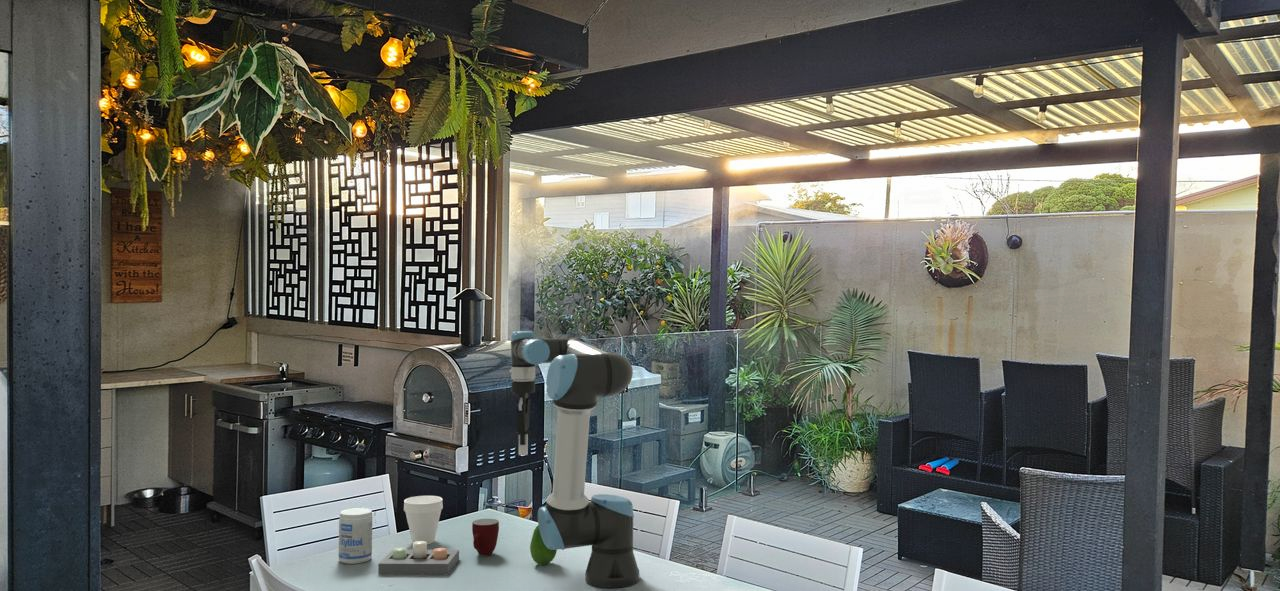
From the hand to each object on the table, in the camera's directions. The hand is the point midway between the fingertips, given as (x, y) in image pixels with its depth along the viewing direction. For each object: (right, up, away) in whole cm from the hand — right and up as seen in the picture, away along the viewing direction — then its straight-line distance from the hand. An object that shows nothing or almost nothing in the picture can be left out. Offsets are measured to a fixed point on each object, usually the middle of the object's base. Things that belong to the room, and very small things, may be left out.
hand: (523, 454), depth 275 cm
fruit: (+8, -30, -17) cm, 35 cm away
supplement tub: (-49, -30, -13) cm, 59 cm away
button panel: (-28, -29, -19) cm, 45 cm away
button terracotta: (-22, -28, -20) cm, 41 cm away
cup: (-33, -30, +7) cm, 45 cm away
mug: (-11, -30, -8) cm, 33 cm away
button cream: (-28, -26, -19) cm, 43 cm away
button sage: (-34, -28, -19) cm, 48 cm away
